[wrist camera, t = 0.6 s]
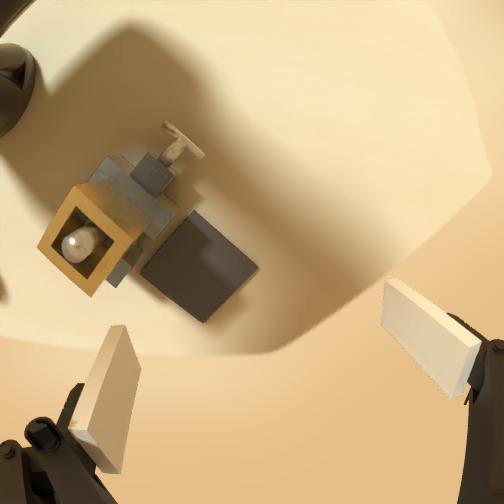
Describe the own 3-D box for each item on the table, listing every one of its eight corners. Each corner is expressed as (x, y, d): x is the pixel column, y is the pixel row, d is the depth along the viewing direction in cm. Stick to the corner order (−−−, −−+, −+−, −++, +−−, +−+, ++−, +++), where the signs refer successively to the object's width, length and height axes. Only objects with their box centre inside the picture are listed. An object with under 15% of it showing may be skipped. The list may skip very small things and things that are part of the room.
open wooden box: (70, 228, 30) (36, 247, 22) (105, 179, 29) (74, 185, 21) (115, 267, 32) (90, 297, 24) (151, 221, 31) (133, 240, 23)
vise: (74, 222, 35) (10, 257, 20) (159, 113, 33) (126, 83, 18) (128, 270, 38) (88, 329, 23) (218, 166, 36) (223, 167, 21)
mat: (140, 272, 38) (139, 274, 38) (194, 210, 37) (194, 210, 36) (203, 321, 41) (203, 323, 41) (257, 265, 40) (258, 267, 40)
